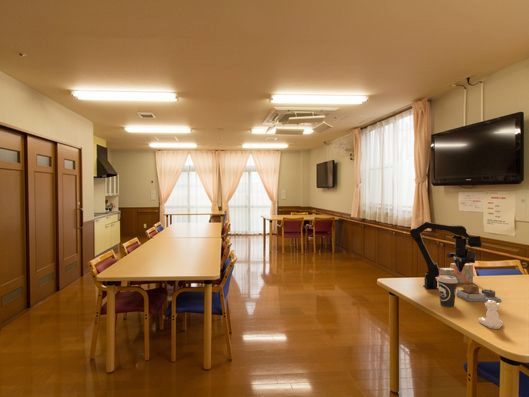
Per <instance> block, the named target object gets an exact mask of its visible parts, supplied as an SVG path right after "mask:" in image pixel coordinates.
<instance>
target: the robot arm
mask: <svg viewBox="0 0 529 397" xmlns="http://www.w3.org/2000/svg"><path fill="white" fill-rule="evenodd" d="M427 229H430V230H436V231H444V232H449V233H451V234H453V236H452V237H451V239H453V240H454V247H453V250H454V252H447V254H446V257H447V258H448V259H449V258H452V261H453V263H455V264H456V266H457V268H458V270H459V272H462V270H463V267H464V265H465V264H466V263H468V264H475V263H476V256H477V254H476V253H475V252H472V251H470V250H469V248H467V246H469V247H470V248H481V247H482V240H481V236H480V235H470V234H469V233H468V232H467V229H466V227H465V226H463V225H457V224H456V225H454V224H453V225H448V224H443V223H442V224H440V223H435V222H429V221H425V222H424V223H422V224H420V225H419V226H418V227H413V228H411V230H410V231H409V234H410V236H411V238H412V239H413V241H415V243H416V244H417V247H418V249H419V251H420V254H422V257H423V258H424V262H425V263H426V266H427V267H426V268H427V271H426V272H425V275H424V276H425V277H424V279H423V280H424V284H423V285H422V286H423V287H424V288H426V289H428V290H431V289H432V290H439V287H438V280H437V279H438V277H439V270H440V268H441V267H440V266H439V265H438V262H435V261H433V259H432V257H431V254H430V253H429V250H428V249H427V246H426V244H425V243H424V240H423V236H422V233H423V232H424V231H426V230H427ZM462 236H463V237H462Z"/></svg>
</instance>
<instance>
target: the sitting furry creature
mask: <svg viewBox="0 0 529 397" xmlns="http://www.w3.org/2000/svg"><path fill="white" fill-rule="evenodd" d="M484 305H485V307H486V310H487V311H486V314H485V316H486V317H482V316H481V317H479V318H478V322H479V323H480V324H481V325H483V326H484V327H487V329H488V328H489V329H492V330H499V329H500V328H501V327H502V326H503V325H504V322H503V320H501V319H500V315H499V312H498V311H497V310H498V309H499V307H500V306H501V303H497V301H494V300H488V301H485V302H484Z"/></svg>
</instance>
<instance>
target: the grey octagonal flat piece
mask: <svg viewBox="0 0 529 397" xmlns="http://www.w3.org/2000/svg"><path fill="white" fill-rule="evenodd" d="M487 289H488V288H485V289H483V288H482V289H481V293H483V294H485V295H486V296H489V297H495V296H496V290H493V289H490V292H488V291H487Z"/></svg>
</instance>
